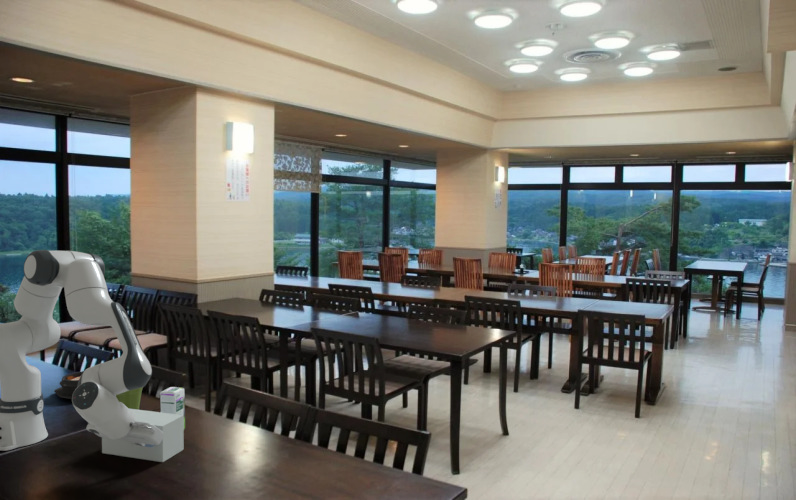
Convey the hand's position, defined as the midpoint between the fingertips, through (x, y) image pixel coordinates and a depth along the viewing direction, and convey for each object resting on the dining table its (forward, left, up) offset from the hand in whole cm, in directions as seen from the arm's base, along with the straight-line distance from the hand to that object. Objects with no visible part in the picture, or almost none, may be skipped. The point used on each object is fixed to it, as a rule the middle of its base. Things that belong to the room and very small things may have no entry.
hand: (141, 443), depth 171 cm
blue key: (+1, +3, -2) cm, 4 cm away
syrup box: (+1, +28, -7) cm, 29 cm away
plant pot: (-21, +47, -7) cm, 52 cm away
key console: (-3, +11, -7) cm, 13 cm away
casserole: (-46, +68, -7) cm, 83 cm away
